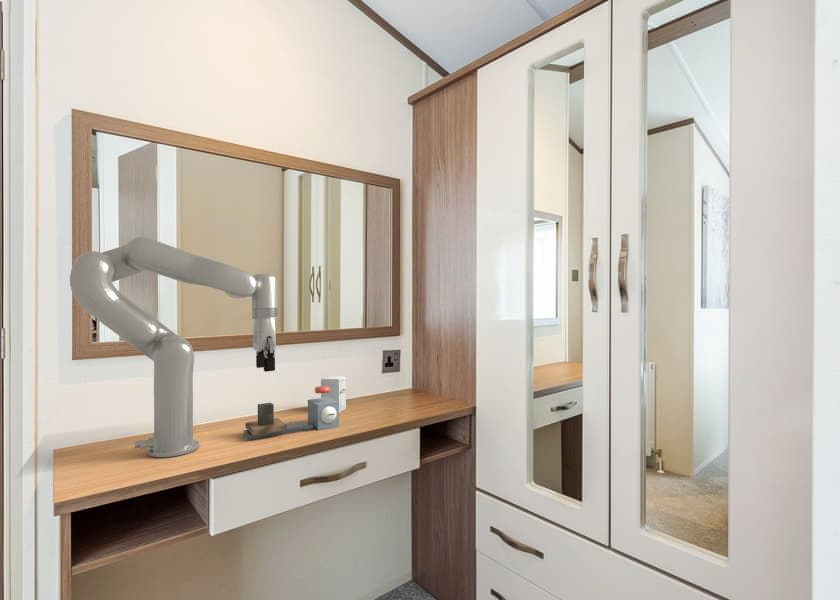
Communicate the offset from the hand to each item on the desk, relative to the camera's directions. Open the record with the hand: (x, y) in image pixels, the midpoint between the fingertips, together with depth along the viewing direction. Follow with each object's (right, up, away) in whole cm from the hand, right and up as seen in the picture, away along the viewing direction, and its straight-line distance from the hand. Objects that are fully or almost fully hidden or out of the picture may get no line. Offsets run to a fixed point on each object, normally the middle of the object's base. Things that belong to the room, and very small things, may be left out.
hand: (265, 369), depth 139 cm
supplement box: (+15, -21, +30) cm, 39 cm away
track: (+4, -20, +2) cm, 21 cm away
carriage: (0, -18, 0) cm, 18 cm away
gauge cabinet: (+16, -20, +10) cm, 27 cm away
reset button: (+16, -9, +10) cm, 21 cm away
